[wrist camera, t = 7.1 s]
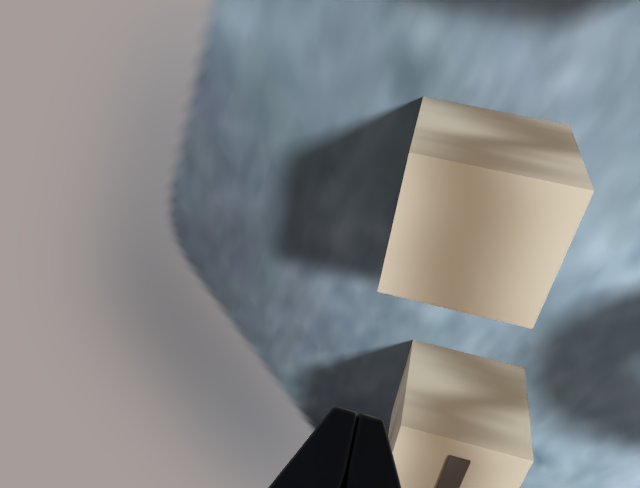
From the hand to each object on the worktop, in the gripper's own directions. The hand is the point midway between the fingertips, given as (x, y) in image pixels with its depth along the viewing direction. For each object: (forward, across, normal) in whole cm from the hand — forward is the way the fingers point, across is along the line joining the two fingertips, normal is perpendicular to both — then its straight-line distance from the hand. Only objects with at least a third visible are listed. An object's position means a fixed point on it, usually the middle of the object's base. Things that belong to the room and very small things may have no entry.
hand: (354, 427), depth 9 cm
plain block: (+14, -2, +1) cm, 14 cm away
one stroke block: (+13, -4, +12) cm, 19 cm away
